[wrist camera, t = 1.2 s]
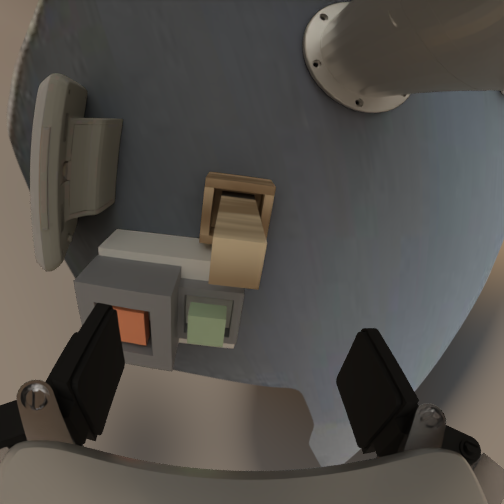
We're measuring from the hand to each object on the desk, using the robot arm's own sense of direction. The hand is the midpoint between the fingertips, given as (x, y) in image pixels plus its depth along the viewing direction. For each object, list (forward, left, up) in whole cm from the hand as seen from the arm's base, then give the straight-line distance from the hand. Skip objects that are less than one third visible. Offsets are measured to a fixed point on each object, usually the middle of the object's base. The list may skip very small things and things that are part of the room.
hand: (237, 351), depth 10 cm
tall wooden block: (0, 0, -19) cm, 19 cm away
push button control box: (+9, -5, -20) cm, 22 cm away
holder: (0, 0, -20) cm, 20 cm away
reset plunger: (+9, -8, -12) cm, 17 cm away
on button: (+9, -1, -13) cm, 16 cm away
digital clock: (-4, -17, -20) cm, 26 cm away
